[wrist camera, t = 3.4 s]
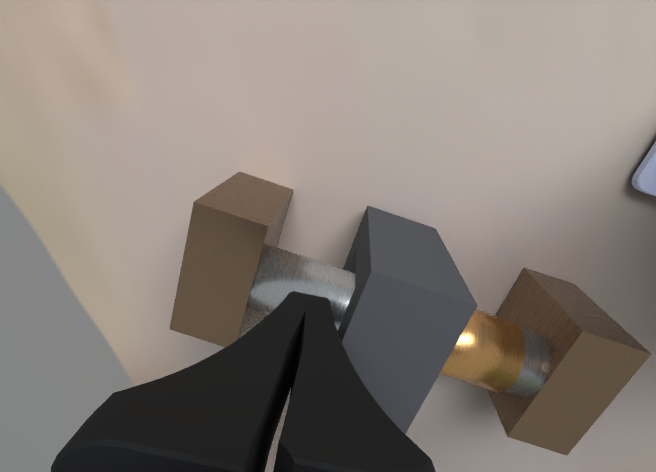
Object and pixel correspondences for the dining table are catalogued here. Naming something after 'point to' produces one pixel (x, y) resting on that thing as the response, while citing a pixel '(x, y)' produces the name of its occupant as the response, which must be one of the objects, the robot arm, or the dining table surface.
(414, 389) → the gray square nut
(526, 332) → the brown dumbbell
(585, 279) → the dining table surface
